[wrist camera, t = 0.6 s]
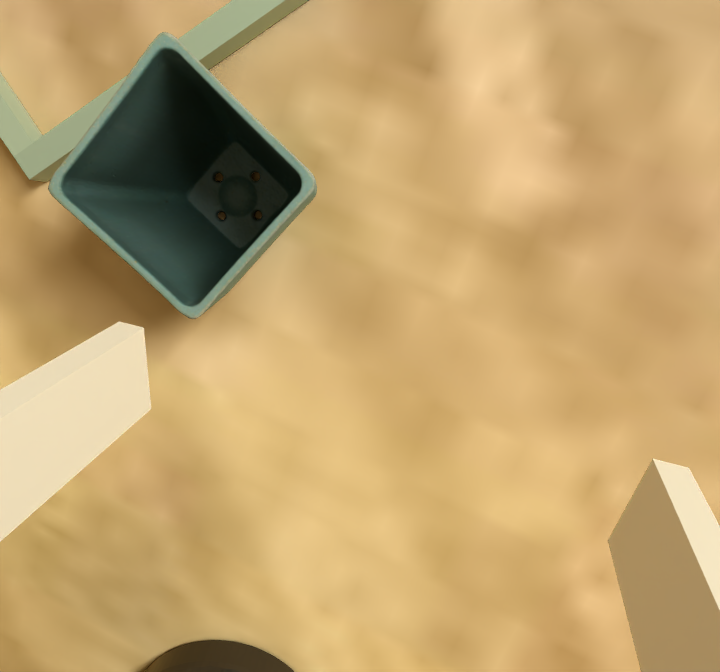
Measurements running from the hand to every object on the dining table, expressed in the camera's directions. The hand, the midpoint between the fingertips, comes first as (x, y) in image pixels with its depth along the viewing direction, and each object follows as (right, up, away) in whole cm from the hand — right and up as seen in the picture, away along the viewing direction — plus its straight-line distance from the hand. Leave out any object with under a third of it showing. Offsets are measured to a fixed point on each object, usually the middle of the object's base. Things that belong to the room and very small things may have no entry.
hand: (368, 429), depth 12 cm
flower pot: (-8, +11, +17) cm, 22 cm away
